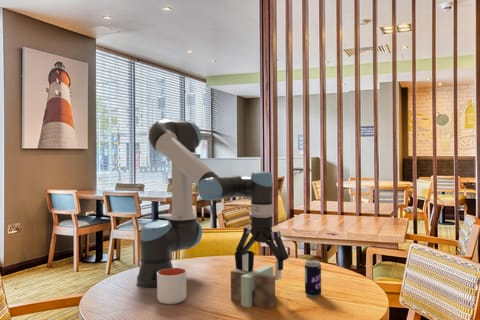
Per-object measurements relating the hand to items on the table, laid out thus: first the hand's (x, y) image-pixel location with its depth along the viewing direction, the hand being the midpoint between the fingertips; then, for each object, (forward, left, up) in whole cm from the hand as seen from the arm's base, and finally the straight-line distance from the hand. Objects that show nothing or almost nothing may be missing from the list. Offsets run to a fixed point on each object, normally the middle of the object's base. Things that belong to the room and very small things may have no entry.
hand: (261, 275), depth 148 cm
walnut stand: (0, -7, -7) cm, 10 cm away
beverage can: (+14, +11, -8) cm, 20 cm away
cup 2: (-14, +9, -8) cm, 18 cm away
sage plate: (0, -3, -7) cm, 8 cm away
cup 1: (-25, -20, -8) cm, 32 cm away
